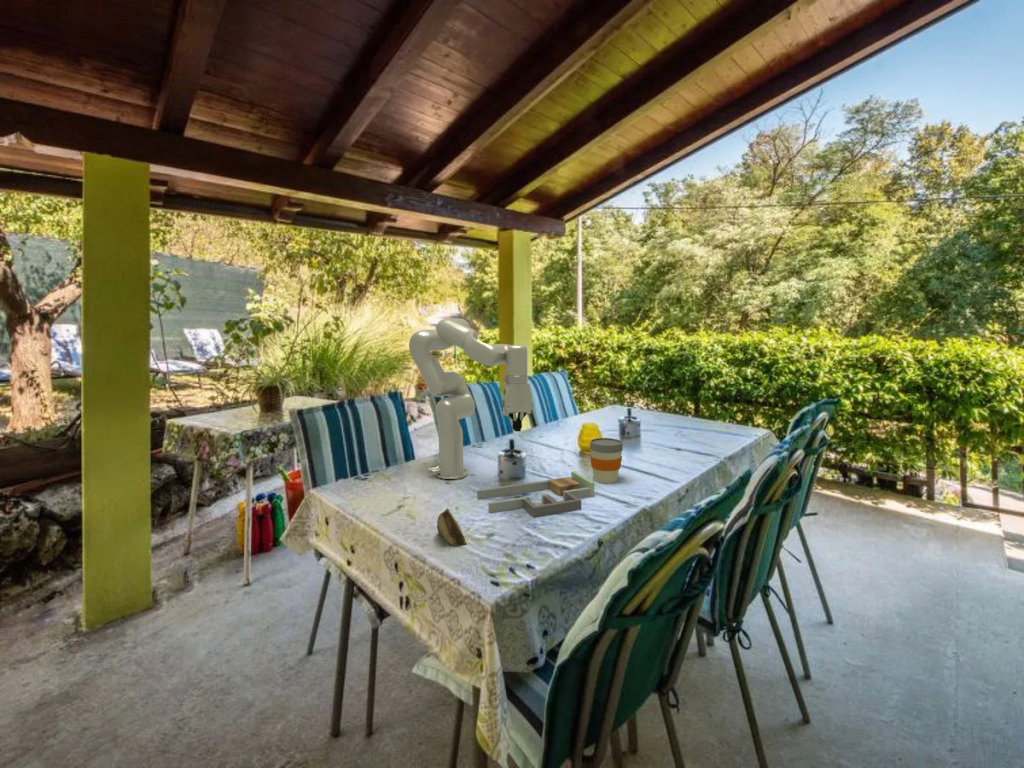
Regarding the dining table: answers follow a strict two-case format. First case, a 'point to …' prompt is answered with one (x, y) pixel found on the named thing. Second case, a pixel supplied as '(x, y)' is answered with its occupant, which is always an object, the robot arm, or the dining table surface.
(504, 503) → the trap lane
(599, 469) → the reusable coffee cup
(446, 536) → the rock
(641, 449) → the dining table surface
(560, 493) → the walnut block
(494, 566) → the dining table surface
